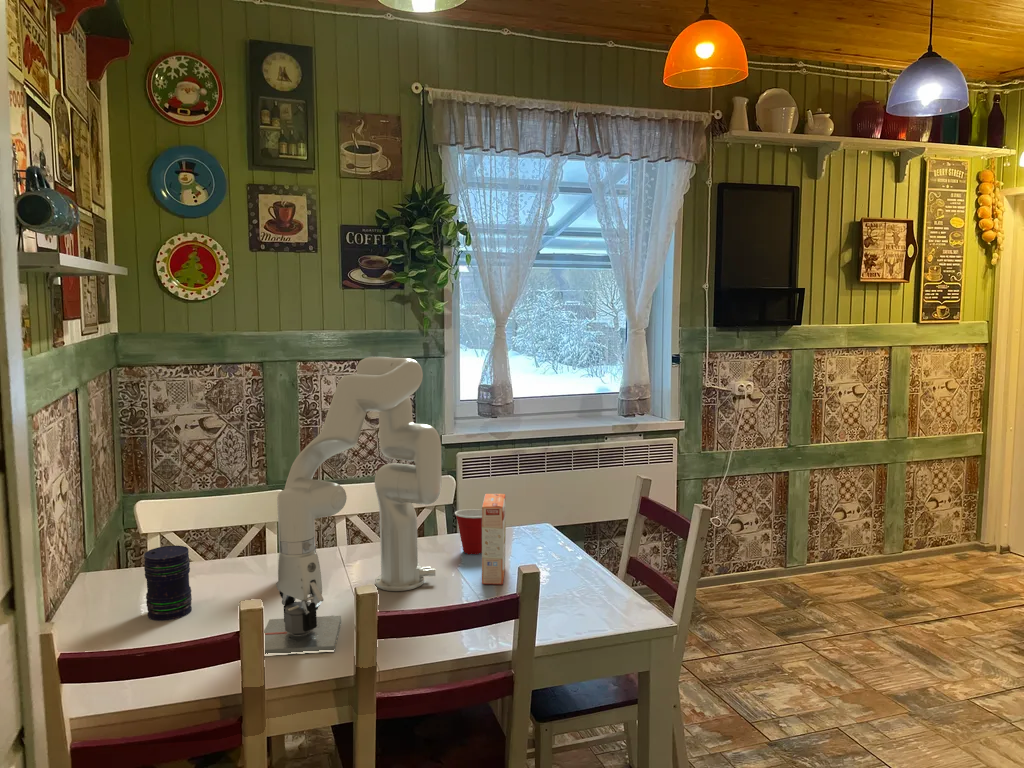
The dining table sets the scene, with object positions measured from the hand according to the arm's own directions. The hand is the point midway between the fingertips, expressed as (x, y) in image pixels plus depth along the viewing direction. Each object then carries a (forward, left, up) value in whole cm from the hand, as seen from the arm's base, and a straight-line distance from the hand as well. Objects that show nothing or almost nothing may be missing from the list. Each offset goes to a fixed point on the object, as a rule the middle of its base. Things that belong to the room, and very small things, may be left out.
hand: (300, 624), depth 174 cm
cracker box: (-46, -33, -3) cm, 57 cm away
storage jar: (+33, -19, -3) cm, 38 cm away
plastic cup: (-42, -54, -3) cm, 68 cm away
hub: (0, 0, -3) cm, 3 cm away
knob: (0, 0, -1) cm, 1 cm away
